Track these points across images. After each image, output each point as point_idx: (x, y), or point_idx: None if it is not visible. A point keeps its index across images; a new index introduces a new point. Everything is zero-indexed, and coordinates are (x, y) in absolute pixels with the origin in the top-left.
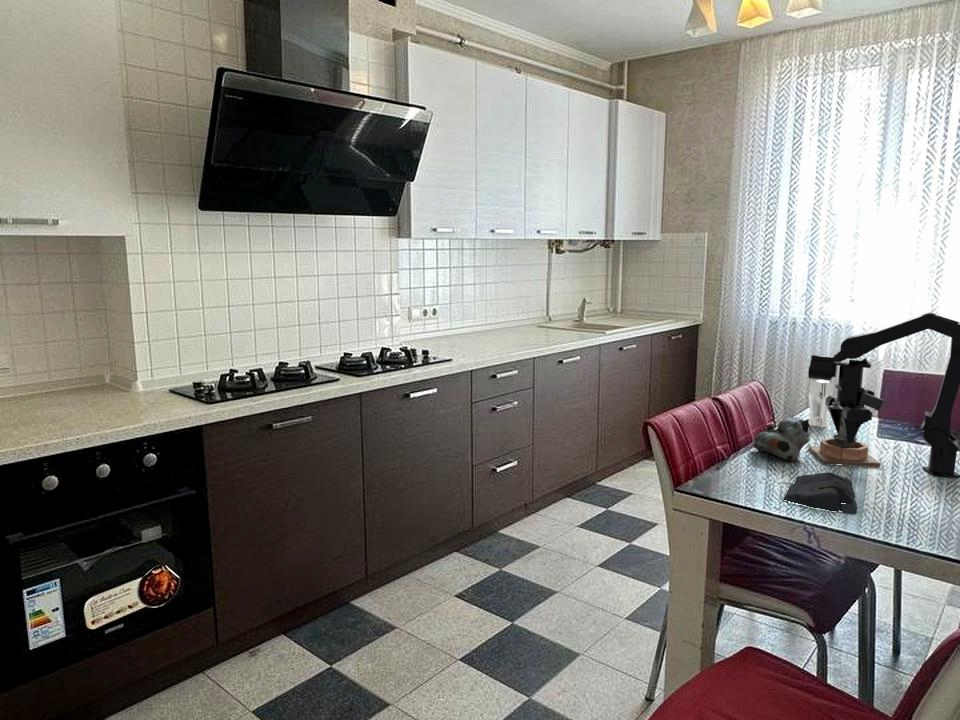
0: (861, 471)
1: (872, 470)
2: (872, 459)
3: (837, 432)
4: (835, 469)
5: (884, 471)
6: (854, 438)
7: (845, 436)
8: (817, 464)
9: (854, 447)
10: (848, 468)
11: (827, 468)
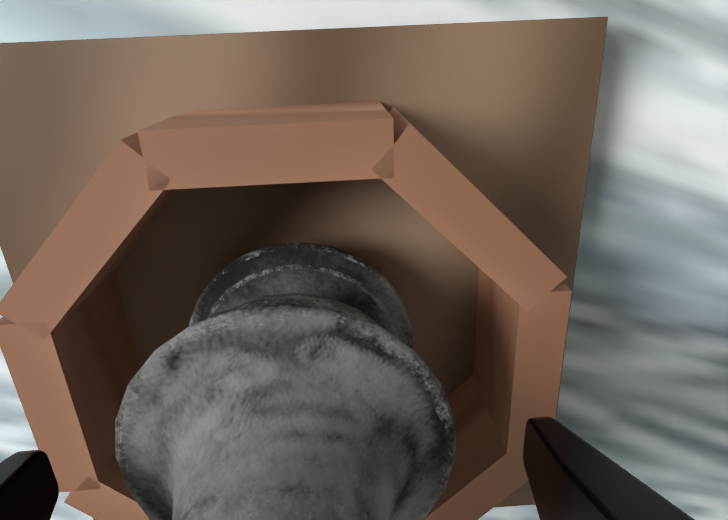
0: (708, 248)
1: (679, 137)
2: (454, 62)
3: (47, 517)
4: (653, 424)
5: (715, 15)
6: (598, 451)
7: (391, 506)
8: (533, 508)
9: (158, 209)
10: (623, 329)
11: (629, 468)
